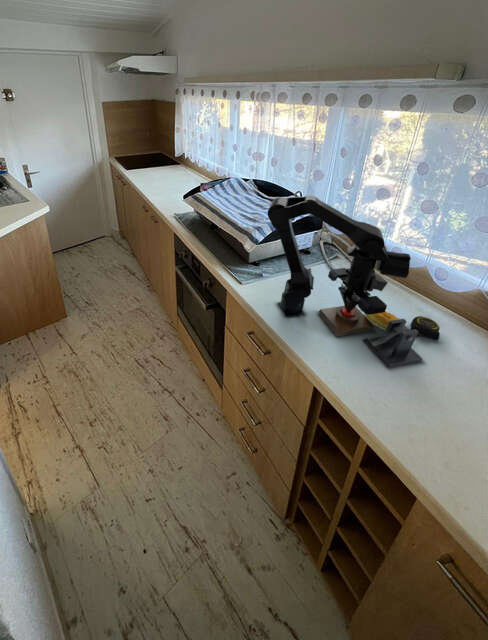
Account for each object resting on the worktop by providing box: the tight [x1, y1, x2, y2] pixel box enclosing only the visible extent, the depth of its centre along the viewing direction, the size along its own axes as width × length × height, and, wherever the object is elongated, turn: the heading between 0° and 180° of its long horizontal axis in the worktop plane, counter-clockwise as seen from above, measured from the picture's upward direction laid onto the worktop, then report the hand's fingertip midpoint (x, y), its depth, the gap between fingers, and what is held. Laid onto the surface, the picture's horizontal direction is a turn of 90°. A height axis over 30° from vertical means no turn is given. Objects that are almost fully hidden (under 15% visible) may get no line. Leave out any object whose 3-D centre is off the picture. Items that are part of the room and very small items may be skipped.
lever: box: [362, 323, 410, 357], centre depth 83 cm, size 11×5×2 cm, turn 99°
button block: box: [318, 305, 375, 337], centre depth 96 cm, size 12×10×4 cm
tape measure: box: [409, 315, 441, 342], centre depth 92 cm, size 7×7×4 cm
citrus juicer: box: [319, 231, 353, 270], centre depth 135 cm, size 11×10×30 cm
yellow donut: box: [364, 310, 400, 332], centre depth 92 cm, size 10×11×4 cm
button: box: [341, 307, 355, 318], centre depth 95 cm, size 4×4×2 cm
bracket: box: [367, 318, 423, 368], centre depth 84 cm, size 10×9×10 cm
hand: (348, 311), depth 94 cm, fingers closed, pressing on button
